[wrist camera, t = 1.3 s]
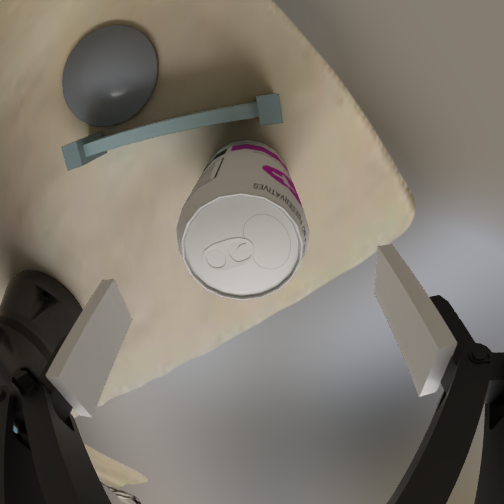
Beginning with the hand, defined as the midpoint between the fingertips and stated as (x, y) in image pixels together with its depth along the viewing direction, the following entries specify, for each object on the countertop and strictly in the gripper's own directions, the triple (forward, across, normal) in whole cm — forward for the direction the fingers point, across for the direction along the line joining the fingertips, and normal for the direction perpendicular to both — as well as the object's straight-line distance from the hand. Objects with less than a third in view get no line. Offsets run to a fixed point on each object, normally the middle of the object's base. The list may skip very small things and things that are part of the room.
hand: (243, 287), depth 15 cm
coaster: (+18, -12, +14) cm, 26 cm away
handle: (+18, -6, +7) cm, 21 cm away
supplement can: (+19, 0, 0) cm, 19 cm away
